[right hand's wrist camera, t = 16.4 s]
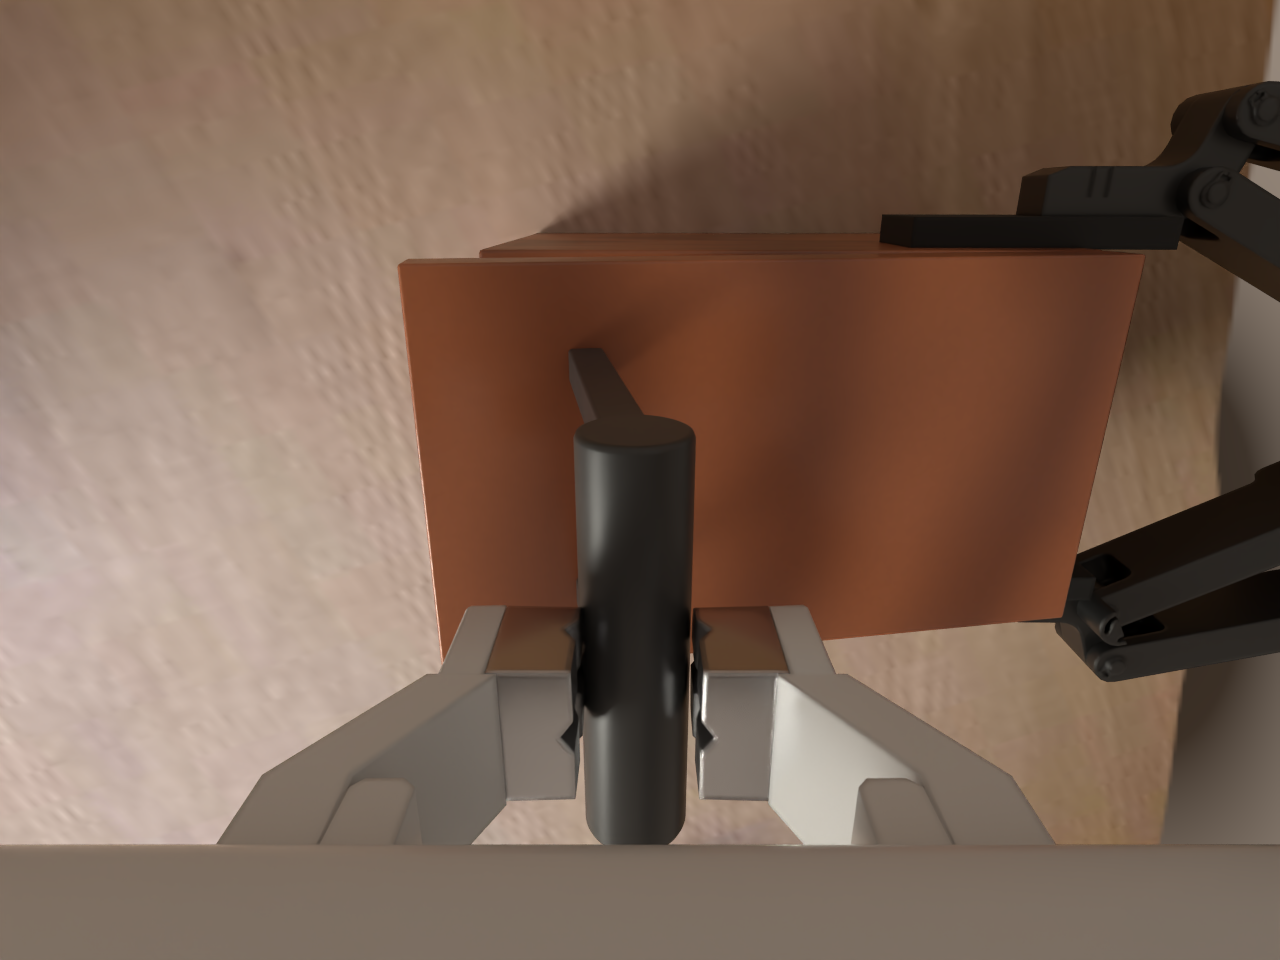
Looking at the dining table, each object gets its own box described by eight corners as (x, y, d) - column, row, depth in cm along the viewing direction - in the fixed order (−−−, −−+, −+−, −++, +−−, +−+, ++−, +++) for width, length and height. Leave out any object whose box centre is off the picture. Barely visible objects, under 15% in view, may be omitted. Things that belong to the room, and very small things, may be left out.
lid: (447, 647, 18) (403, 970, 11) (405, 258, 15) (299, 320, 7) (1030, 593, 21) (1339, 826, 13) (1103, 250, 17) (1570, 290, 10)
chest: (547, 473, 30) (503, 588, 21) (536, 233, 26) (478, 250, 18) (920, 475, 29) (1034, 592, 21) (955, 233, 26) (1107, 250, 17)
